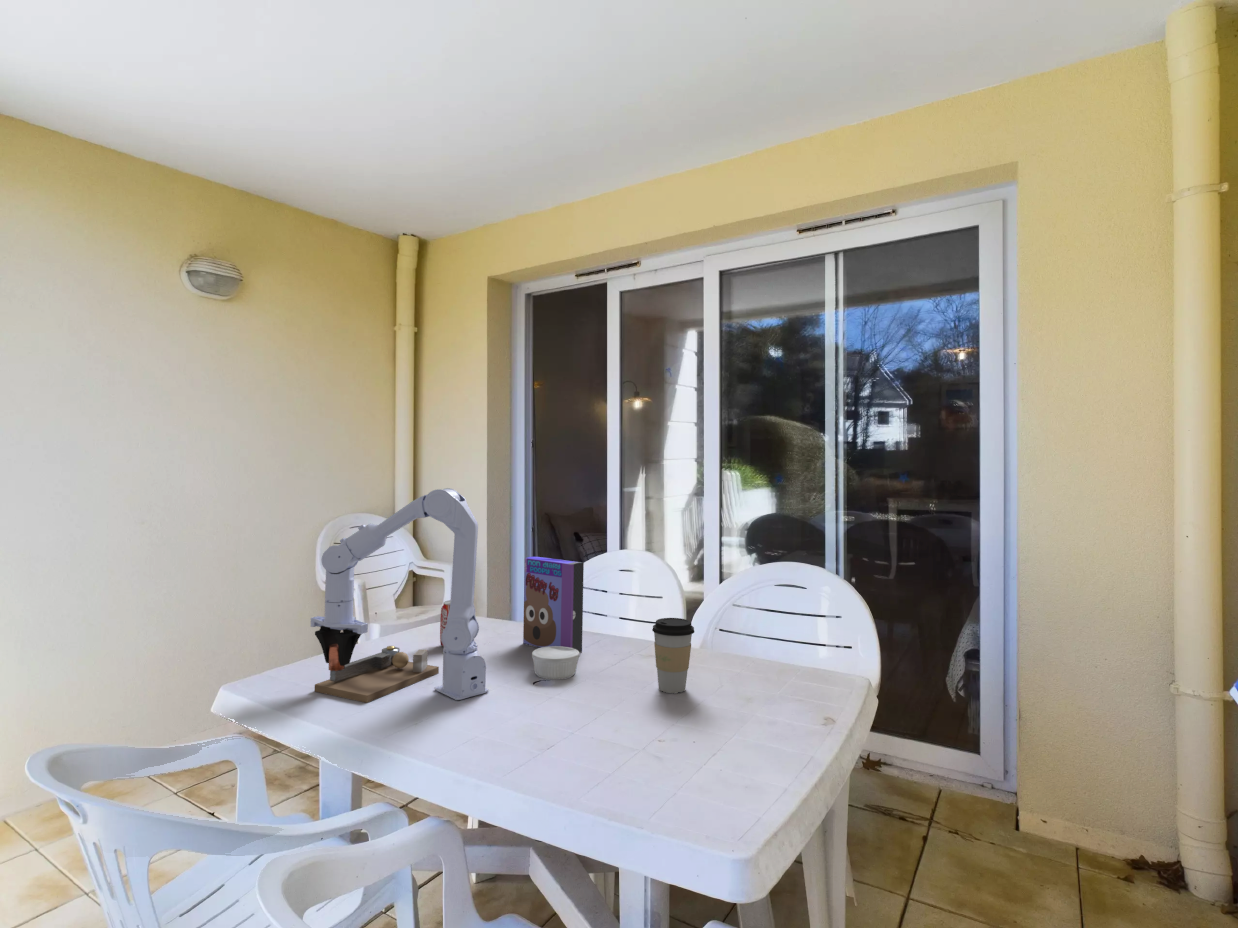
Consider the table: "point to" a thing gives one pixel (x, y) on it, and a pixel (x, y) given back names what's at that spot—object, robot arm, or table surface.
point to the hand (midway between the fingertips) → (337, 663)
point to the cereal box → (553, 603)
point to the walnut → (400, 660)
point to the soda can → (444, 617)
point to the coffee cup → (672, 652)
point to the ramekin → (555, 662)
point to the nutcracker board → (379, 680)
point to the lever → (358, 662)
